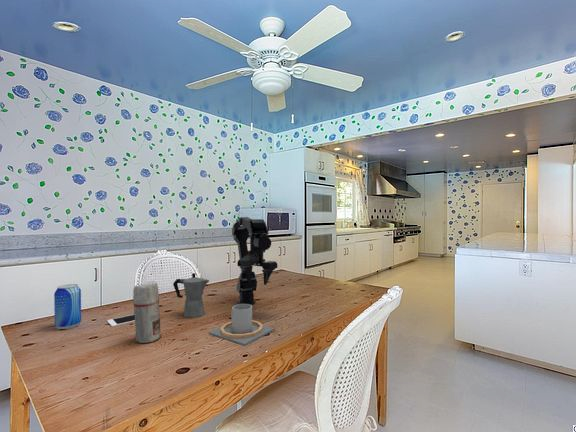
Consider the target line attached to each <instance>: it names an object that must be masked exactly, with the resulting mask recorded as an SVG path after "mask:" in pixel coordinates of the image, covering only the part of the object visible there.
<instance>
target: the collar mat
mask: <svg viewBox="0 0 576 432" xmlns="http://www.w3.org/2000/svg"><path fill="white" fill-rule="evenodd" d="M275 330H276V329H275V327H274V328H273V327H271V326H266V325H264V324H262V323H261V322H260V321H257V320H253V319H252V331H251V332H250V333H246V334H234V333H233V330H232V321H228V322H227V323H224V324H223V325H222V326H219V327H217V328H215V329H212V330H210V331H208V335H211V336H214V337H218V338H220V339H223V340H226V341H229V342H232V343H236V344H238V345H242V346H244V347H245V346H247V345H249V344H251V343H253V342H255V341H257V340H259V339H260V338H262V337H264V336H266V335H268V334H270V333H272V332H273V331H275Z"/></svg>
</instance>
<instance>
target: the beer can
mask: <svg viewBox="0 0 576 432" xmlns="http://www.w3.org/2000/svg"><path fill="white" fill-rule="evenodd" d="M54 291H55V292H54V295H53V297H54V298H53V299H54V302H53V304H54V309H53V311H54V327H56V330H59V329H66V330H70V329H69V328H71V329H73V328H72V327H74V328H77V327H79V326H80V323H81V322H82V289H81V288H80V287H79V284H77V283H68V284H62V285H58V286H57V287H56V290H54ZM76 326H77V327H76Z"/></svg>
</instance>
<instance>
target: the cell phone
mask: <svg viewBox="0 0 576 432" xmlns="http://www.w3.org/2000/svg"><path fill="white" fill-rule="evenodd" d="M106 322H107V324H108V325H109V324H110V325H111V326H112V327H111V326H110V325H109V326H110V327H111V328H115V327H119V326H118V325H120V326H123V325H129V324H133V323H135V314H134V313H133V314H129V315H125V316H120V317H115V318H111V319H108V320H107V321H106ZM114 326H115V327H114Z"/></svg>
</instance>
